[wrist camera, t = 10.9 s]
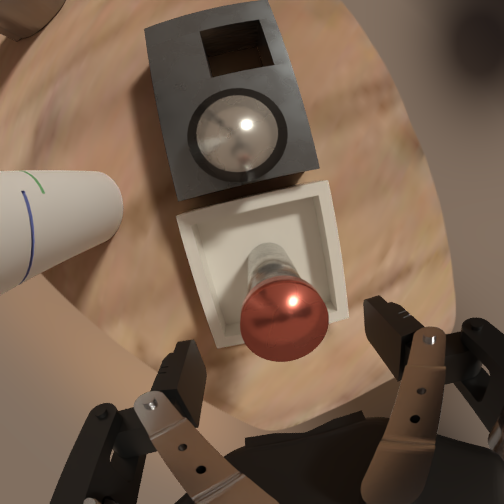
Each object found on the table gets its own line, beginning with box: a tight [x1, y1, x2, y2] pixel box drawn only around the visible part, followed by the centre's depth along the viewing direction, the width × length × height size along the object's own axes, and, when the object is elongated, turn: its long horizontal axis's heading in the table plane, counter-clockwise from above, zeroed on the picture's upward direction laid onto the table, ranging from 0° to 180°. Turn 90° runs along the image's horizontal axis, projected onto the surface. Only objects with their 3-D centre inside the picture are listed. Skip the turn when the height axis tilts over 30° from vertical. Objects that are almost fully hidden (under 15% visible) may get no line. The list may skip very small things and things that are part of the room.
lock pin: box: [240, 243, 329, 362], centre depth 19 cm, size 4×4×11 cm
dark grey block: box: [144, 0, 319, 201], centre depth 17 cm, size 10×15×8 cm, turn 13°
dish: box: [176, 180, 349, 348], centre depth 23 cm, size 12×12×3 cm
